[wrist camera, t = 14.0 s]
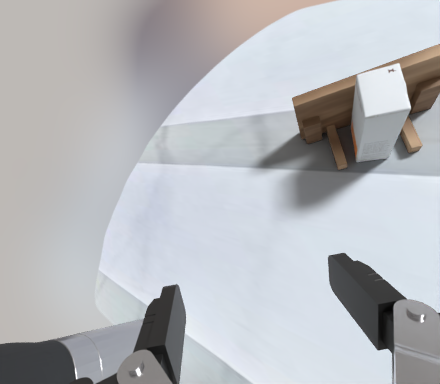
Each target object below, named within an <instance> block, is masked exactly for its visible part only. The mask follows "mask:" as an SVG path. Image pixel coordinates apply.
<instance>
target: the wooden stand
mask: <svg viewBox="0 0 440 384" xmlns="http://www.w3.org/2000/svg"><path fill="white" fill-rule="evenodd" d="M397 63H399V64H400V67H401V71H402V74H403V78H404V81H405V83H406V87H407V94H408V98H409V102H410V105H411V110H410V114H413V113H417V112H420V111H423V110H427V109H430V108H431V107H432V105H433V104H434V102H435V100H436V99H437V97H438V95H439V93H440V44H438V45H435V46H433V47H430V48H427V49H424V50H422V51H419V52H416V53H413V54H411V55H408V56H405V57H402V58H400V59H397V60H394V61H392V62H389V63H386V64H383V65H381V66H378V67H375V68H372V69H370V70H367V71H364V72H368V71H372V70H375V69H379V68H383V67H387V66H390V65H394V64H397ZM364 72H361V73H364ZM361 73H359V74H361ZM356 75H358V74H356ZM356 75H353V76H351V77H348V78H345V79H342V80H340V81H337V82H334V83H331V84H329V85H326V86H323V87H320V88H318V89H315V90H312V91H310V92H307V93H304V94H301V95H299V96H296V97H293V98H292V100H293V105H294V109H295V113H296V118H297V122H298V126H299V130H300V134H301V138H302V139H305V138H306V142H307V144H310V143H313V142H317V141H320V140H322V133H325V132H327V136H328V139H329V142H330V145H331V149H332V152H333V155H334V158H335V161H336V165H337V168H338V170H341V169H345V168H347V161H346V158H345V155H344V152H343V149H342V146H341V143H340V140H339V137H338V134H337V131H336V129H338V128H341V127H345V126H348V125H351V120H352V111H353V102H354V92H355V83H356ZM400 135H401V137H402V139H403V142H404V144H405V146H406V148H407V151H408V153H411V152H415V151H419V150H420V148H421V147H422V146H423V145H422V143H421V141H420V139H419V137H418V135H417V133H416V130H415V128H414V126H413V124H412V122H411V120H410V118H409V116H407V119H406V121H405V123H404V125H403V127H402V129H401V132H400Z"/></svg>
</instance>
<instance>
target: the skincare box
mask: <svg viewBox="0 0 440 384" xmlns="http://www.w3.org/2000/svg"><path fill="white" fill-rule="evenodd" d="M410 110H411V105H410V102H409V98H408V94H407V87H406V83H405V81H404V78H403V74H402V71H401V67H400V64H399V63H397V64H394V65H390V66H387V67H383V68H379V69H375V70H372V71H368V72H364V73H361V74H358V75H356V83H355V92H354V102H353V111H352V120H351V134H352V139H353V145H354V152H355V159H356V162H363V161H370V160H378V159H386V158H389V156H390V153H391V151H392V149H393V147H394V145H395V143H396V140H397V138H398V136H399V134H400V132H401V129H402V127H403V125H404V123H405V121H406V119H407V116H408V114H409V112H410Z"/></svg>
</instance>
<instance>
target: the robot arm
mask: <svg viewBox="0 0 440 384" xmlns="http://www.w3.org/2000/svg"><path fill="white" fill-rule="evenodd" d="M328 266H329V281H330V285H331V288H332V290H333V292H334V294H335V295H336V296H337V298H338V299H339V300H340V301H341V303H342V304H343V305H344V307H345V308H346V309H347V311H348V312H349V313H350V315H351V316H352V317H353V319H354V320H355V321H356V322H357V324H358V325H359V326H360V328H361V329H362V330H363V332H364V333H365V334H366V336H367V337H368V338H369V340H370V341H371V342H372V343H373V345H374V346H375V347H376V349H377V350H383V349H389V350H390V351H391V353H392V384H440V313H437V312H436V311H435V310H434V309H433V308H431V307H430V306H428V305H426V304H424V303H421V302H419V301H415V300H407V299H406V298H405V297H404V296H403V295H402V294H401V293H399V292H398V291H397V290H396V289H395V288H394V287H392V286H391V285H390V284H389V283H388V282H387V281H385V280H384V279H383V278H382V277H381V276H380V275H379V274H376V272H375V271H374V270H373V269H372V268H370V267H369V266H368V265H366V264H364V263H362V262H360V261H353V260H352V259H351V258H350V257H349V256H347V255H346V254H345V253H340V254H335V255H330V256H329V257H328ZM185 324H186V312H185V307H184V303H183V299H182V296H181V292H180V288H179V286H178V284H176V285H171V286H165V287H163V289H162V293H161V296H160V298H157V299H154V300H153V301H152V302H151V304H150V305H149V306H148V308H147V311H146V314H145V318H144V319H141V320H136V321H132V322H127V323H123V324H118V325H114V326H109V327H105V328H101V329H96V330H92V331H87V332H83V333H78V334H74V335H70V336H66V337H62V338H57V339H52V340H48V341H43V342H37V343H5V344H0V384H179V381H180V371H181V362H182V353H183V343H184V334H185Z"/></svg>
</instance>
